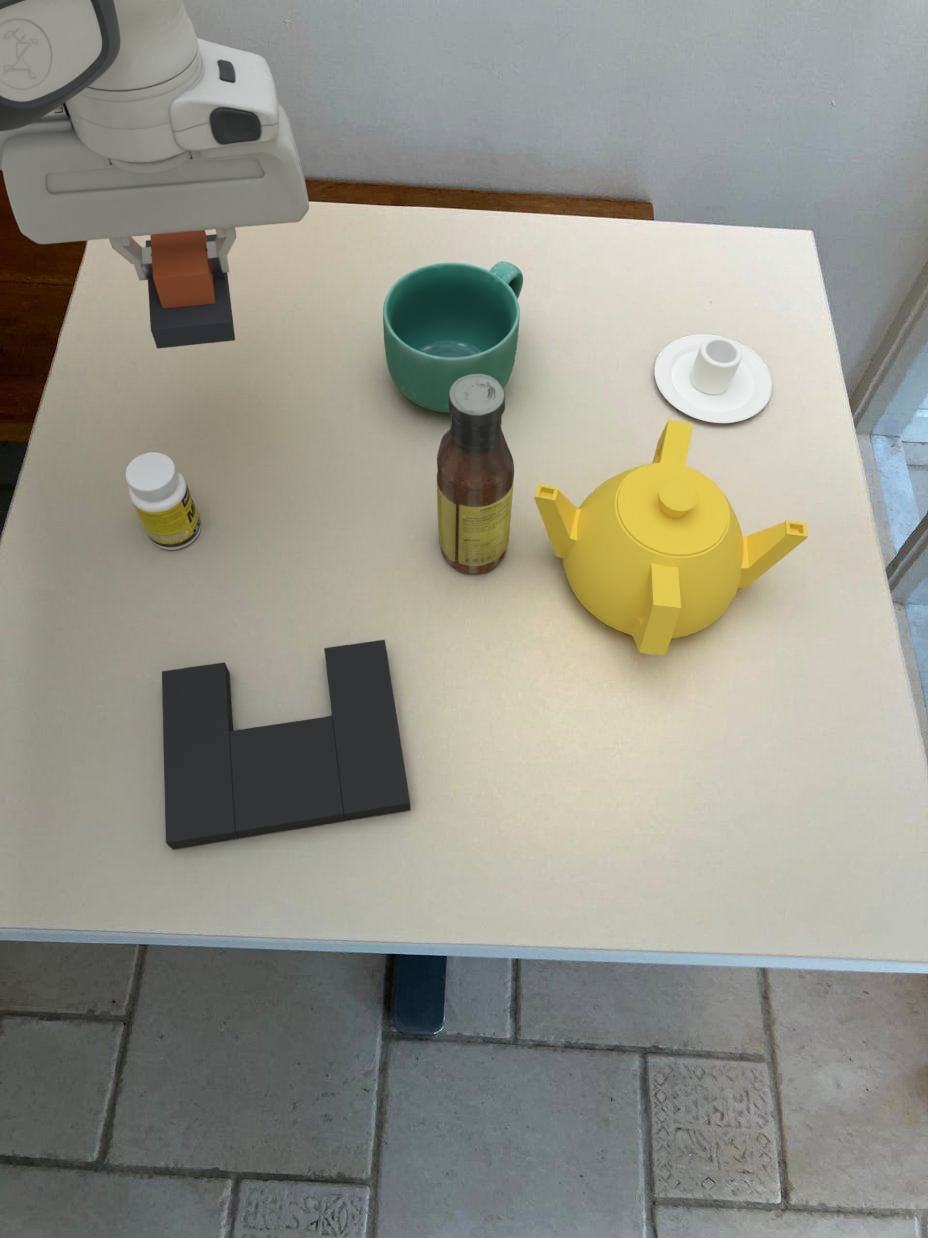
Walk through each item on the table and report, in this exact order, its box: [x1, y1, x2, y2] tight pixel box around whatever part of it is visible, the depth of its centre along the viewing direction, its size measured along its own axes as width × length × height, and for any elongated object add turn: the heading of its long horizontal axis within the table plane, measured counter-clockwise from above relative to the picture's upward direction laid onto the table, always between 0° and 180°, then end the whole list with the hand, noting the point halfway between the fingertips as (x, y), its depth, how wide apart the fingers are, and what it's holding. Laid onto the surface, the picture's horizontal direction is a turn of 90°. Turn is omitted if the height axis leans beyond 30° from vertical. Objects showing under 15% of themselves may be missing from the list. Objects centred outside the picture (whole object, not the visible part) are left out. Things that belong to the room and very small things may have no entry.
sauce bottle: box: [436, 374, 515, 575], centre depth 71 cm, size 7×6×20 cm
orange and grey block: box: [145, 230, 236, 349], centre depth 69 cm, size 6×10×5 cm, turn 12°
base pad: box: [161, 639, 411, 850], centre depth 70 cm, size 18×14×2 cm
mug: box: [382, 260, 524, 414], centre depth 86 cm, size 17×13×10 cm
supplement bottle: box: [125, 451, 202, 551], centre depth 76 cm, size 5×5×8 cm
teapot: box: [534, 418, 809, 656], centre depth 74 cm, size 17×17×12 cm
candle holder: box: [653, 333, 773, 424], centre depth 89 cm, size 12×12×4 cm
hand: (185, 271), depth 69 cm, fingers closed on orange and grey block, 4 cm apart
